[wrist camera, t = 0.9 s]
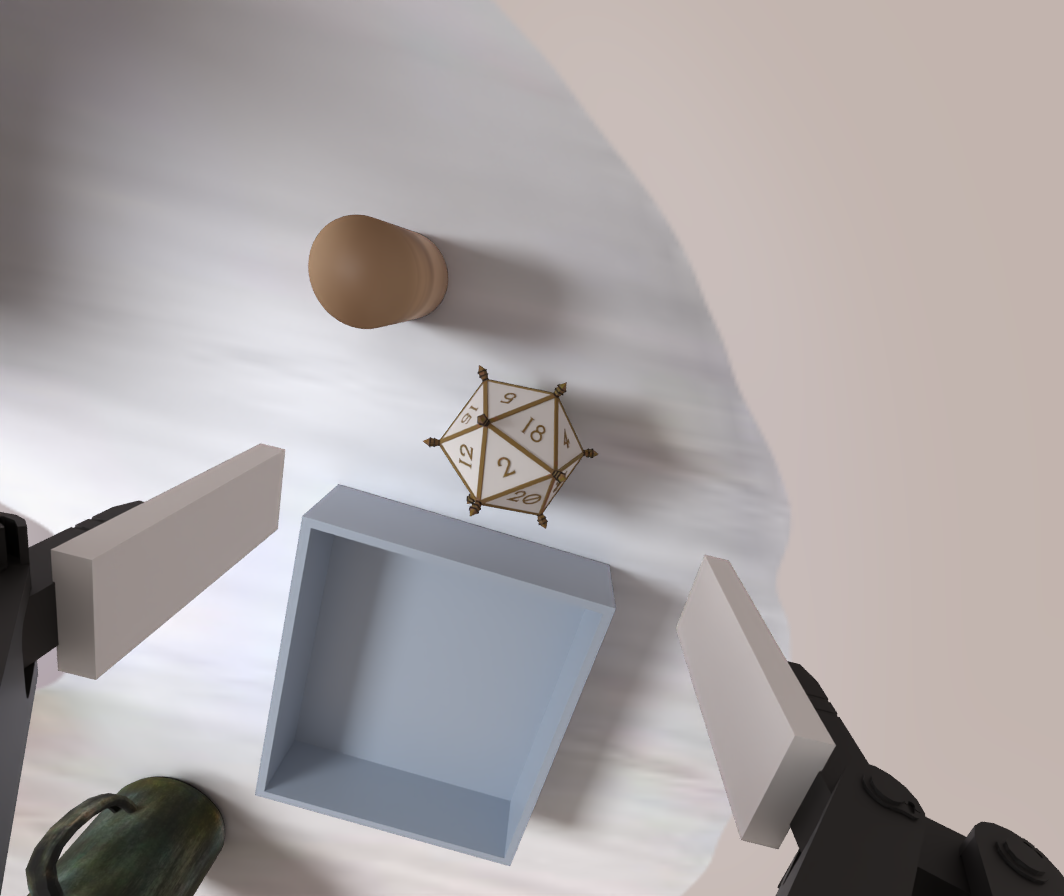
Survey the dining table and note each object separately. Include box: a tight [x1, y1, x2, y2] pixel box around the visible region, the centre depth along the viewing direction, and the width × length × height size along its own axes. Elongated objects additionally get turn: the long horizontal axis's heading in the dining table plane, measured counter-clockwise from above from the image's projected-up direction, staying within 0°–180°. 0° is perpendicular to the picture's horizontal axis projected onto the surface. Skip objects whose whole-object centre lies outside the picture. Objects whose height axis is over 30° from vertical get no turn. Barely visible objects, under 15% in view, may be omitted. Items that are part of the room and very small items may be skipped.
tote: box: [255, 484, 616, 866], centre depth 36 cm, size 19×23×5 cm
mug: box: [26, 777, 225, 896], centre depth 40 cm, size 11×15×12 cm
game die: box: [423, 365, 598, 529], centre depth 29 cm, size 9×8×10 cm
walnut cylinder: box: [308, 215, 448, 329], centre depth 27 cm, size 5×5×7 cm
